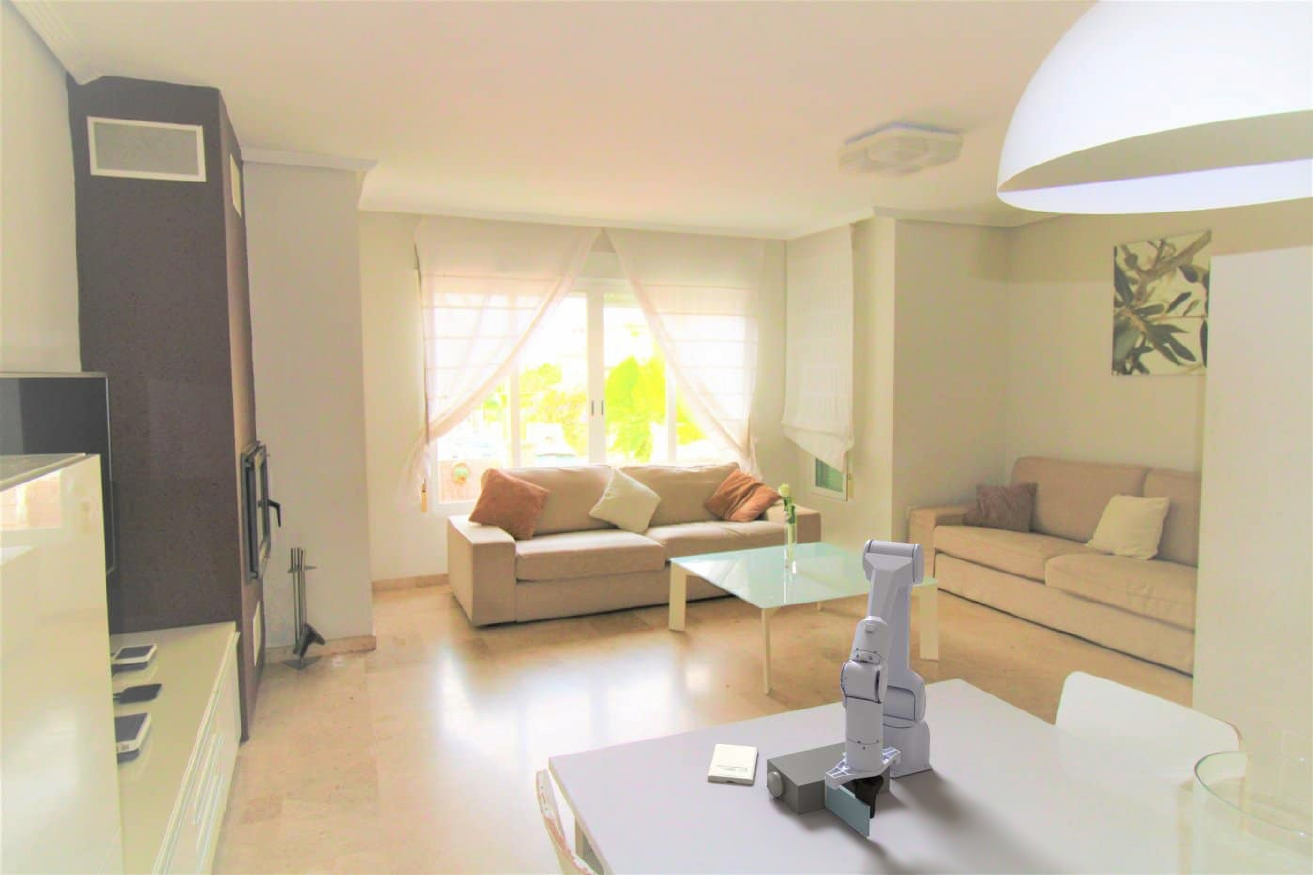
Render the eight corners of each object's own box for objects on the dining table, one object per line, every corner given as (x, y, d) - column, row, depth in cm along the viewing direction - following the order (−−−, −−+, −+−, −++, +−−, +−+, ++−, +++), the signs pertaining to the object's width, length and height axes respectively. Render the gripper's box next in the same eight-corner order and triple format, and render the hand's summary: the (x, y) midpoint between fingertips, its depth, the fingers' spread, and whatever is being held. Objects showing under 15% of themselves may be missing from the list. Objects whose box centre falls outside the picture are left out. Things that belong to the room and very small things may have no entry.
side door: (870, 835, 126) (870, 805, 125) (865, 837, 125) (865, 807, 125) (827, 803, 135) (828, 775, 135) (823, 805, 135) (823, 776, 134)
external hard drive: (757, 755, 155) (752, 787, 143) (715, 751, 156) (707, 782, 144) (757, 747, 155) (752, 778, 143) (715, 743, 156) (707, 774, 144)
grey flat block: (854, 765, 149) (855, 739, 149) (890, 791, 140) (890, 764, 140) (761, 787, 141) (761, 760, 141) (792, 816, 132) (792, 787, 132)
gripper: (877, 714, 133) (877, 791, 134) (812, 738, 125) (812, 819, 127) (910, 731, 127) (910, 811, 128) (844, 756, 119) (844, 841, 121)
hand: (864, 816), depth 127 cm, fingers closed, pressing on side door
